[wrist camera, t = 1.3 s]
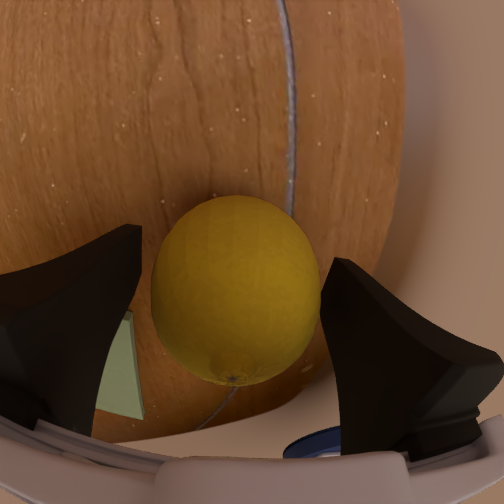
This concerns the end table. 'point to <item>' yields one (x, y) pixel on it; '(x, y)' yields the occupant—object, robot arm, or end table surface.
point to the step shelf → (122, 375)
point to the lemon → (235, 291)
